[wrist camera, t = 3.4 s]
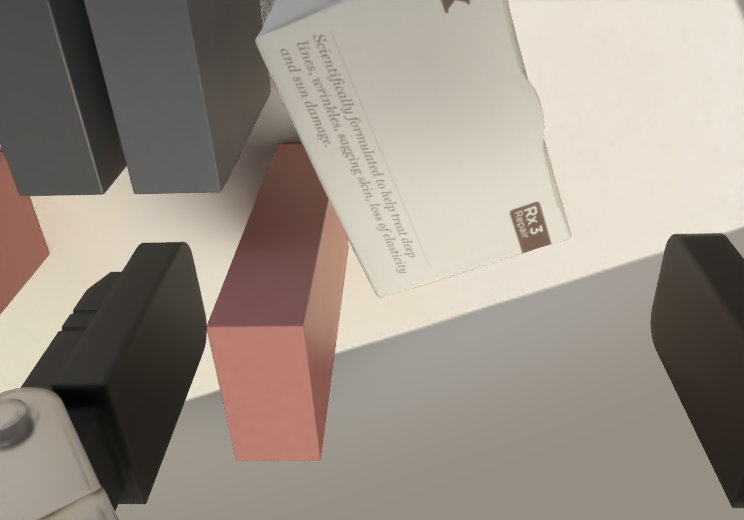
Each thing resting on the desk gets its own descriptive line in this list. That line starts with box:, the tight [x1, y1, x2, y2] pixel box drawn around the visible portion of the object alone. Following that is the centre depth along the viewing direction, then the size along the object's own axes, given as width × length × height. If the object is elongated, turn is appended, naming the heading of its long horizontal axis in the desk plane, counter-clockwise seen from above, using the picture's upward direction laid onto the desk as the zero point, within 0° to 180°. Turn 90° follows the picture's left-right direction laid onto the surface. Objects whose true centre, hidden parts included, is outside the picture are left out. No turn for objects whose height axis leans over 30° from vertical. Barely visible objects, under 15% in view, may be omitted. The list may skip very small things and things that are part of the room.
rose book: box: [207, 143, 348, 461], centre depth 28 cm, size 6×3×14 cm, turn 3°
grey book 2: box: [84, 0, 271, 194], centre depth 25 cm, size 7×3×10 cm, turn 3°
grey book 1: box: [0, 0, 127, 196], centre depth 25 cm, size 7×3×10 cm, turn 3°
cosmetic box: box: [255, 0, 571, 298], centre depth 23 cm, size 8×6×15 cm
